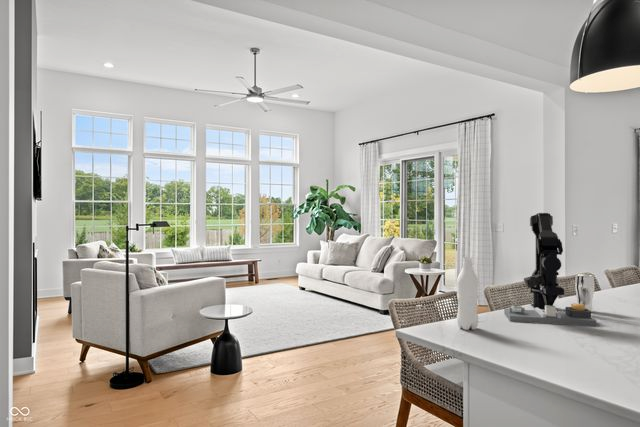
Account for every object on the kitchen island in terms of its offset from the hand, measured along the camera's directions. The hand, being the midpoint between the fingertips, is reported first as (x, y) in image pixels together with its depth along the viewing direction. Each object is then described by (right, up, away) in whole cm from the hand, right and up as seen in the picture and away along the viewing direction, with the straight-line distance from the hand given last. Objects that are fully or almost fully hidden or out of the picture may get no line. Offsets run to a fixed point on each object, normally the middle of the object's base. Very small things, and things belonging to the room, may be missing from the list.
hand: (548, 309), depth 166 cm
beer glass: (+24, -4, +16) cm, 29 cm away
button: (+11, 0, -1) cm, 11 cm away
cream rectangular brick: (-1, -2, -2) cm, 3 cm away
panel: (0, -4, +1) cm, 4 cm away
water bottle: (-35, -4, -12) cm, 37 cm away
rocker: (-10, 0, +4) cm, 11 cm away
